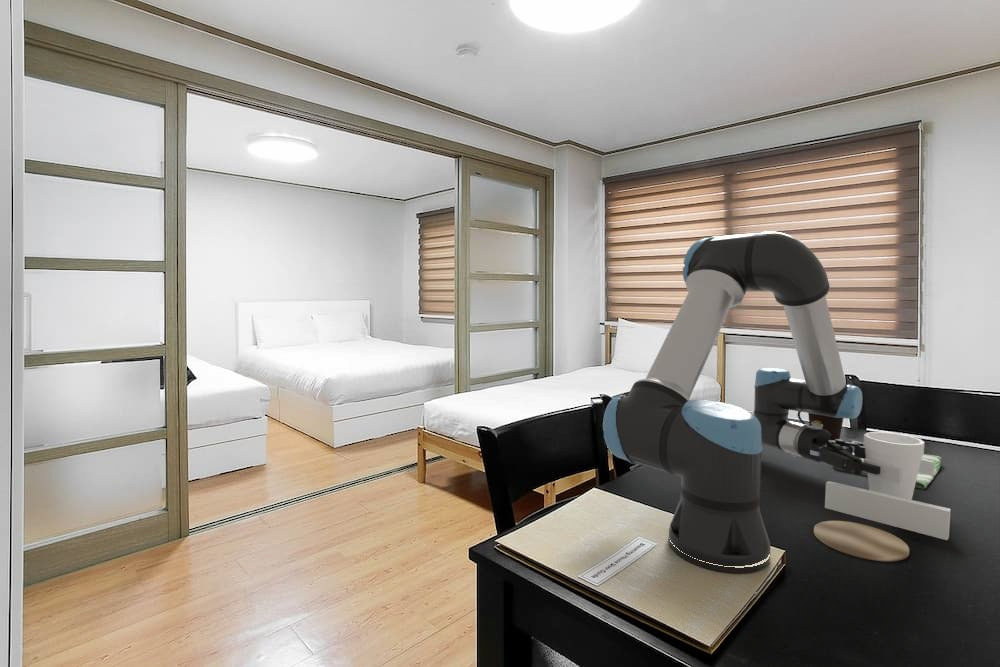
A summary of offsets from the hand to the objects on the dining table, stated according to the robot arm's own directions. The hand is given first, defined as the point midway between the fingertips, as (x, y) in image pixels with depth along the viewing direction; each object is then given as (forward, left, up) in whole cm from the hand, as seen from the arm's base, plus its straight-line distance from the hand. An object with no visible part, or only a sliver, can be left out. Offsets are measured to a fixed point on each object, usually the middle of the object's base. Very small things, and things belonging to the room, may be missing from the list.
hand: (917, 472), depth 97 cm
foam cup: (+2, +4, -8) cm, 9 cm away
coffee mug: (+39, +26, -8) cm, 47 cm away
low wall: (-10, +3, -7) cm, 13 cm away
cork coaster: (-22, +4, -7) cm, 24 cm away
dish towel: (+28, +9, -8) cm, 30 cm away
